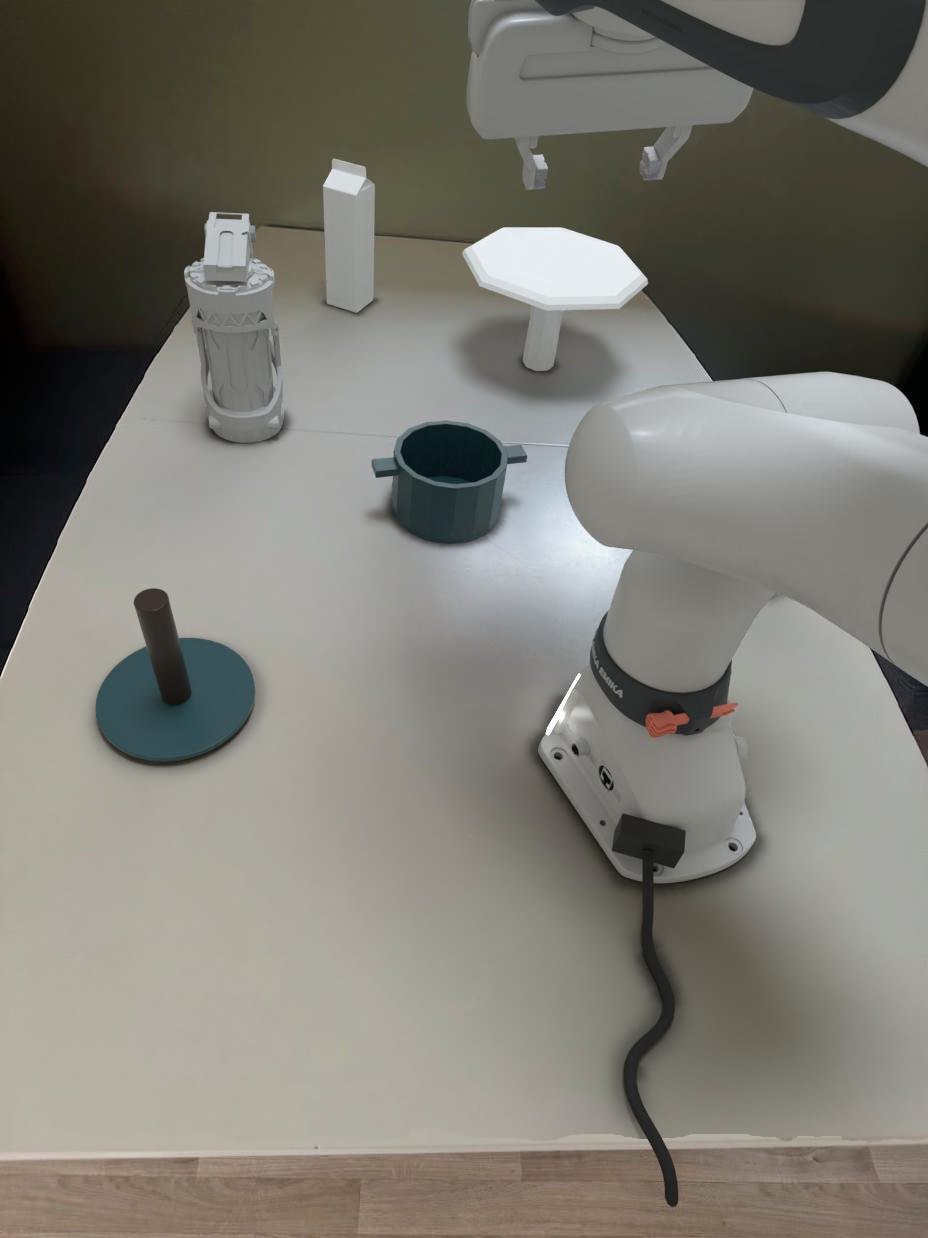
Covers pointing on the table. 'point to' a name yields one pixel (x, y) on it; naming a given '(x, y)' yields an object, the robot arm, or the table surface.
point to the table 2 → (553, 279)
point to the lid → (173, 690)
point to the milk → (349, 236)
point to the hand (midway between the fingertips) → (592, 180)
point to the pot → (448, 480)
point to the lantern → (236, 333)
